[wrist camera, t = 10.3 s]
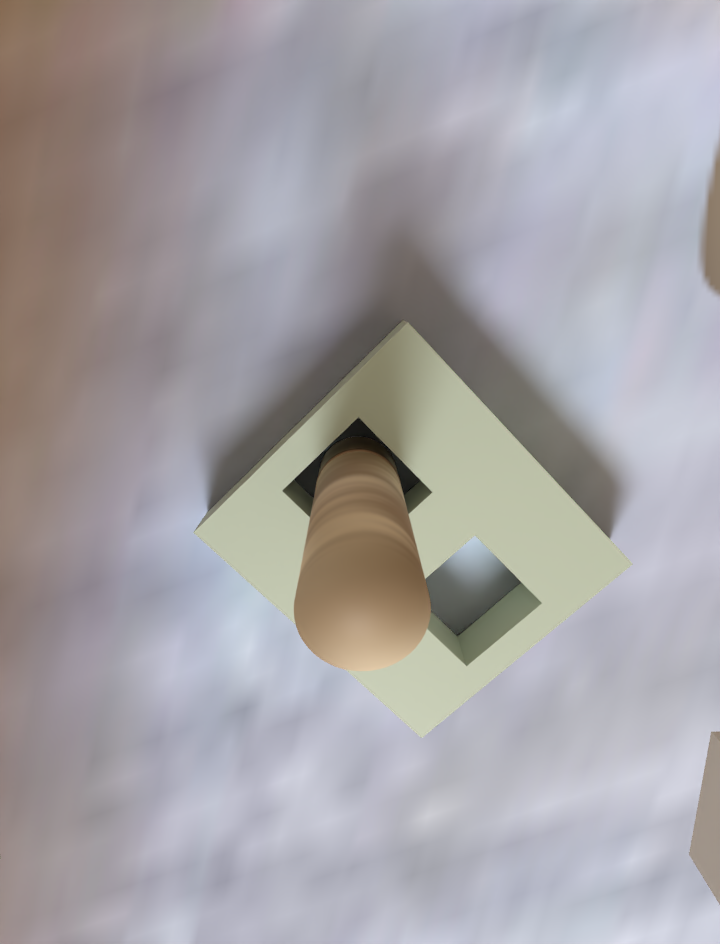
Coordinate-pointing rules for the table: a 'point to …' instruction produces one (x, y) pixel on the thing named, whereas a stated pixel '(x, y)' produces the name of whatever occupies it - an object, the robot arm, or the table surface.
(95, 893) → the table surface
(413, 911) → the table surface
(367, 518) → the peg
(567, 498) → the board
